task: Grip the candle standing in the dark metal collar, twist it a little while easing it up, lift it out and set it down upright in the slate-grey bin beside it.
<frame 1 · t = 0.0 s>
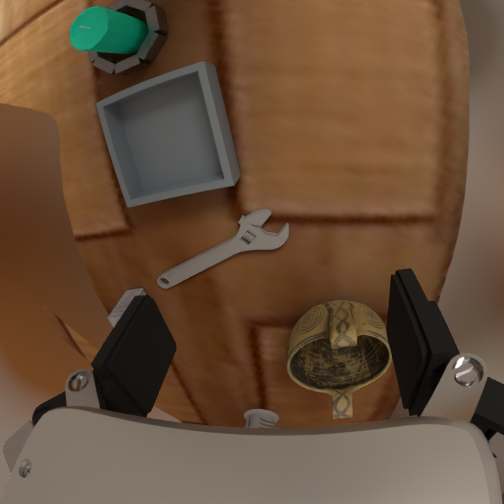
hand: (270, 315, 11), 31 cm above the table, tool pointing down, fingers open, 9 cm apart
bin: (173, 133, 38), on the table
ceramic bowl: (335, 319, 51), on the table
french press: (258, 415, 72), on the table
medicine box: (144, 303, 56), on the table
collar: (130, 36, 31), on the table
candle: (131, 36, 31), resting in collar
adjustable wrench: (214, 248, 47), on the table
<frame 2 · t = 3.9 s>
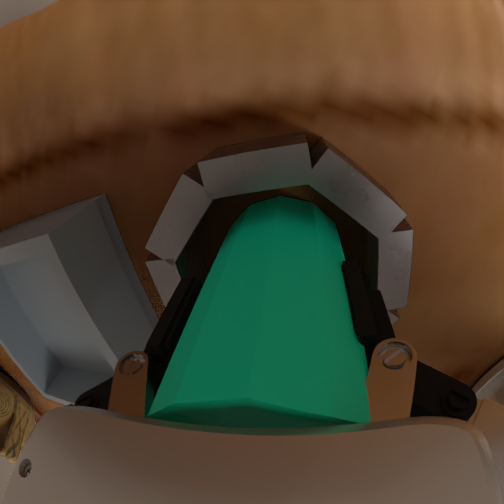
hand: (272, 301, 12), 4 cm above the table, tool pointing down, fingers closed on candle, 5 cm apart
bin: (74, 308, 20), on the table
ceramic bowl: (13, 383, 37), on the table
collar: (282, 252, 15), on the table
candle: (284, 249, 15), resting in collar, touching gripper
when the fingers open (7 cm above the table, at t = 11.6 s): candle drops 2 cm, resting on bin.
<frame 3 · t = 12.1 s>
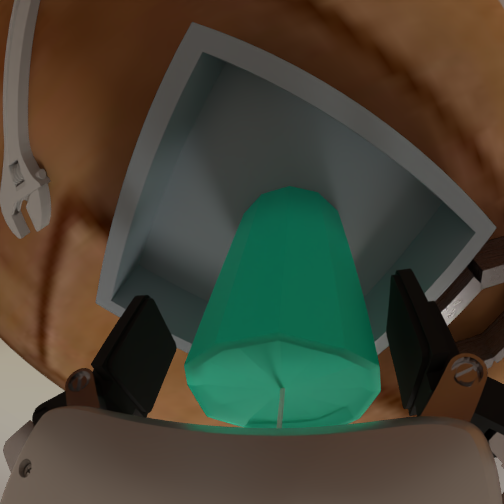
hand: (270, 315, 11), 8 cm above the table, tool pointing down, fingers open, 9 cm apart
bin: (281, 226, 18), on the table
collar: (475, 303, 18), on the table
candle: (291, 235, 17), point 1 cm above the table, touching bin
adjustable wrench: (30, 91, 15), on the table
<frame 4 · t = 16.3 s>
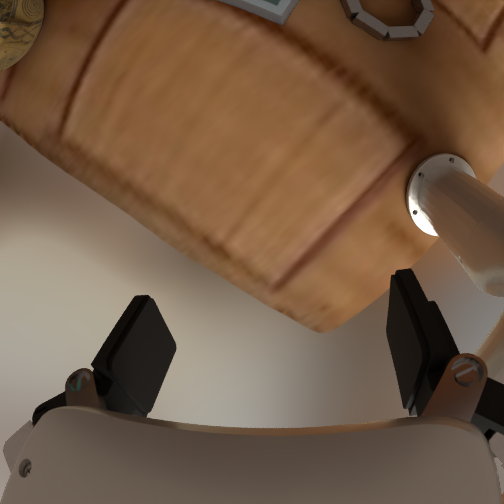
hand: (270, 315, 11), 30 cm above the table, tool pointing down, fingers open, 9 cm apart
ceramic bowl: (30, 27, 28), on the table
collar: (383, 2, 24), on the table
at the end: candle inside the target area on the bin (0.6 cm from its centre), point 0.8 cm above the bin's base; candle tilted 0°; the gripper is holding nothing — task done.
